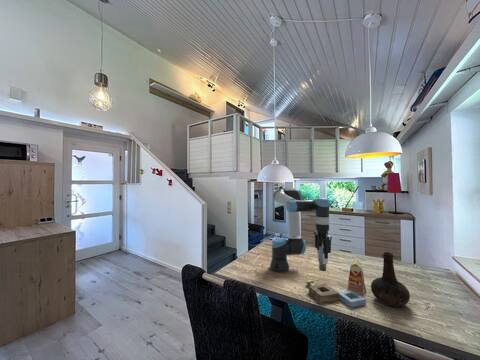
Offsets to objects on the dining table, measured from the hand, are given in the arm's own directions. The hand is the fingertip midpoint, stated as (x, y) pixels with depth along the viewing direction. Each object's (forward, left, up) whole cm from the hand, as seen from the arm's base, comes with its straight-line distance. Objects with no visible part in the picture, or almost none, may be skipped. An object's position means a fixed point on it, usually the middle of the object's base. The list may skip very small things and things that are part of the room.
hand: (322, 261), depth 124 cm
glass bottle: (+16, +32, -21) cm, 41 cm away
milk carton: (0, +25, -21) cm, 32 cm away
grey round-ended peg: (0, 0, -5) cm, 5 cm away
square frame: (+9, +12, -20) cm, 25 cm away
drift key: (-9, 0, -20) cm, 22 cm away
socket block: (0, 0, -20) cm, 20 cm away
